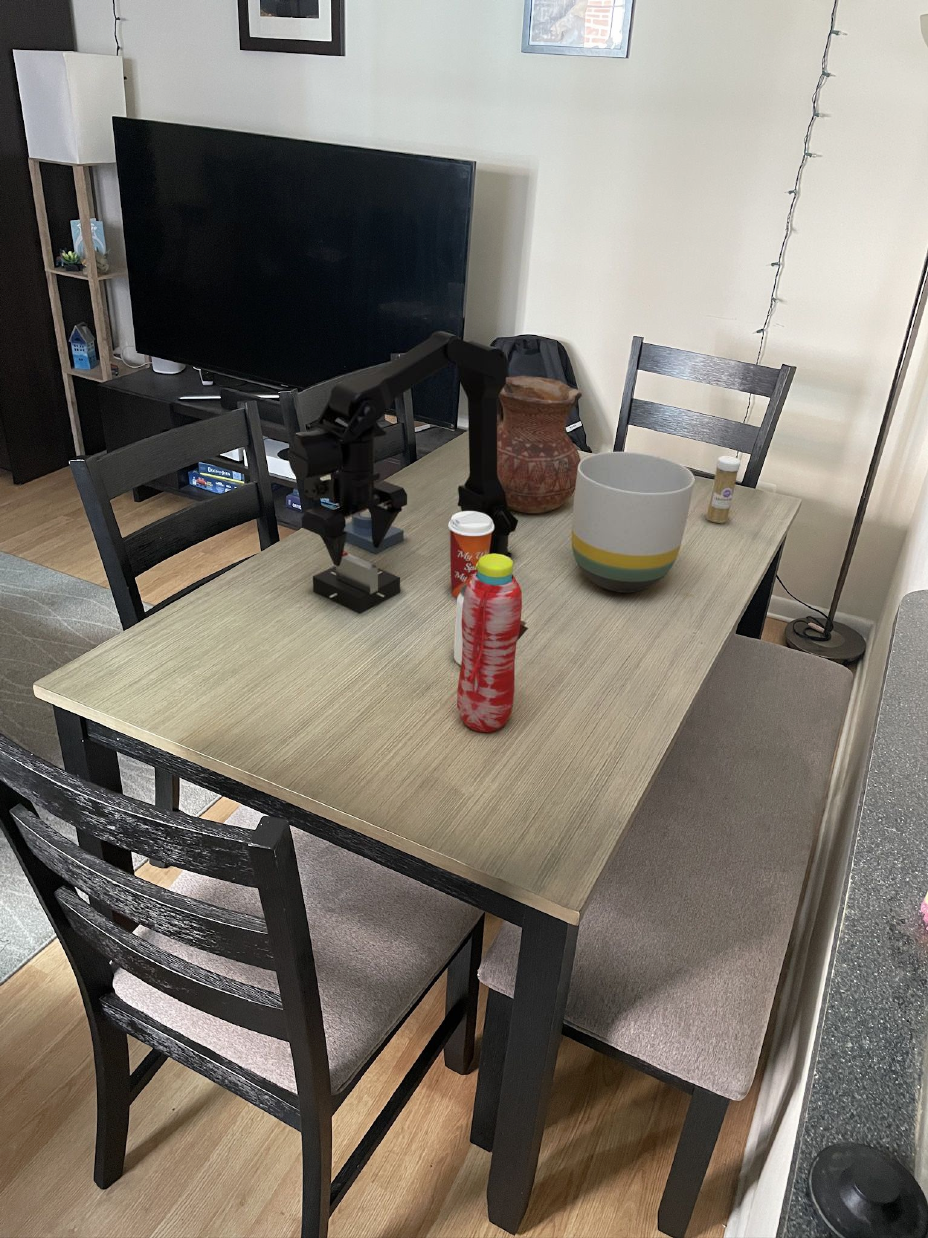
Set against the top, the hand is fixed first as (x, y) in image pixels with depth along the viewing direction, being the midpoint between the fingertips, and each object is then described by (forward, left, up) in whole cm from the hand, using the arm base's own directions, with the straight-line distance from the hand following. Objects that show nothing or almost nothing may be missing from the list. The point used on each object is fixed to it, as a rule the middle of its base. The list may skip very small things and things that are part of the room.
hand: (356, 556), depth 146 cm
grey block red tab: (0, 0, -5) cm, 5 cm away
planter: (-30, -37, -8) cm, 48 cm away
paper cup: (-12, -15, -8) cm, 21 cm away
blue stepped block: (+15, -19, -8) cm, 26 cm away
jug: (+4, -56, -8) cm, 57 cm away
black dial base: (+1, 0, -8) cm, 8 cm away
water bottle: (-36, +11, -8) cm, 39 cm away
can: (-26, +1, -8) cm, 27 cm away
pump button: (+17, -21, -5) cm, 28 cm away
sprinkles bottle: (-30, -77, -8) cm, 83 cm away
